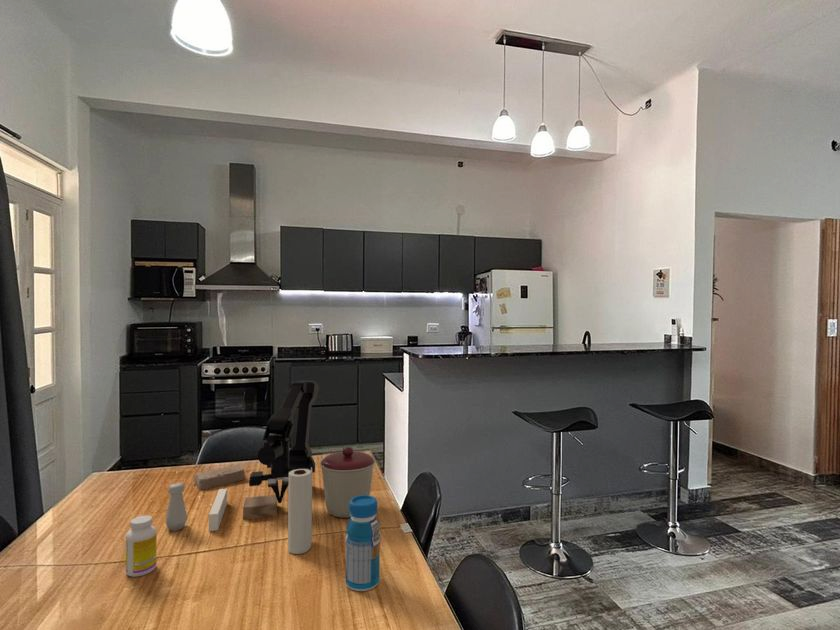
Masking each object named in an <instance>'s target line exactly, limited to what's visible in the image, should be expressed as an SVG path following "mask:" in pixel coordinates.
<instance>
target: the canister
mask: <svg viewBox="0 0 840 630" xmlns="http://www.w3.org/2000/svg"><path fill="white" fill-rule="evenodd" d="M376 463H377V462H376V458H375V457H373V456H372V455H370V454H368V453H365V452H362V451H357V450H354V448H353V447H351V446H345V447H344V448H343V449H342V451H338V452H334V453H330V454H328V455H326V456H325V457H324V458H322V459H321V460H320V461H319V466H320V468H321V470H322V471H321V472H322V484H323V492H324V500H325V507H326V510H327V512H328V513H329V515H332V516H334V517H336V518H340V519H342V518H344V519H345V518H347V519H348V518H351V516H350V513H349V503H350V500H351V499H352V498H353V497H356V496H360V495H369V496H371V490H372V480H373V473H374V472H373V471H374V465H376Z"/></svg>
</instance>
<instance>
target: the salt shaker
mask: <svg viewBox="0 0 840 630" xmlns="http://www.w3.org/2000/svg"><path fill="white" fill-rule="evenodd" d="M185 489H186V488H185V484H184V483H182V482H177V483H176V482H175V483H173V484H170V485H169V486H168V494H170V496H169V501H168V508H167V510H166V515H165V516H166V517H165V521H164V522H165V525H166V527H167V529H168V530H169V531H172V532H175V531H180V530H181V529H183V528H184V527H185V525H186V522H187V520H188V515H187V510H186V509H187V508H186V505H185V500H184V496H183V493H184V491H185Z"/></svg>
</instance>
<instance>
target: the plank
mask: <svg viewBox="0 0 840 630" xmlns="http://www.w3.org/2000/svg"><path fill="white" fill-rule="evenodd" d="M227 505H228V488H220V489H218V491H217V494H216V497H215V498H214V501H213V503H212V506H211V509H210V511H209V514H208V532H215V531H219V529H220V525H221V522H222V520H223V516H224V514H225V511H226V508H227Z"/></svg>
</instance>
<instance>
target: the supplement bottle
mask: <svg viewBox="0 0 840 630" xmlns="http://www.w3.org/2000/svg"><path fill="white" fill-rule="evenodd" d="M129 523H130V525H129V527H130V530H128V532H127V533H126V534H125V574H126V575H127V576H129V577H134V578H135V577H142V576H145V575H148V574H150V573H151V572H153V571H154V570H155V569H156V567H157V528H156V527H155V526H153V525H152V523H153V517H152V516H151V515H140V516H137V517H134V518H132V519H131V520H130V522H129Z"/></svg>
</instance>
